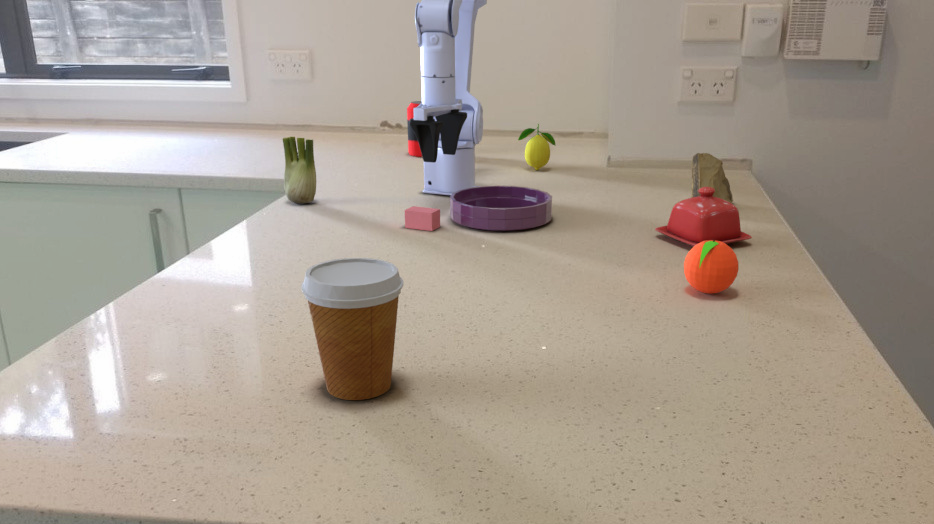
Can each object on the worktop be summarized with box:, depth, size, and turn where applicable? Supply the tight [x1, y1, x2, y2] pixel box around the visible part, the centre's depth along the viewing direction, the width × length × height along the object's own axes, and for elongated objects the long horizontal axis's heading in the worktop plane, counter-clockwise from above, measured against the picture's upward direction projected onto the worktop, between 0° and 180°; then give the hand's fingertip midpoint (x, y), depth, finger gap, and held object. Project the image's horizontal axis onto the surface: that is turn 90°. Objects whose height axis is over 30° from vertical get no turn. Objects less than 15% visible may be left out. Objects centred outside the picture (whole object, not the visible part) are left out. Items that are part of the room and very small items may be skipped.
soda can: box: [406, 100, 423, 158], centre depth 197 cm, size 8×8×12 cm
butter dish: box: [654, 187, 753, 248], centre depth 131 cm, size 12×12×8 cm
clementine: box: [683, 239, 740, 295], centre depth 108 cm, size 8×7×7 cm
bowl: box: [449, 185, 553, 232], centre depth 143 cm, size 17×17×4 cm
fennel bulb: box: [282, 136, 317, 205], centre depth 151 cm, size 6×5×12 cm
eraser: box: [404, 205, 441, 232], centre depth 138 cm, size 5×3×3 cm, turn 68°
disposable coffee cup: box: [300, 257, 404, 401], centre depth 81 cm, size 10×10×12 cm
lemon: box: [517, 123, 556, 171], centre depth 181 cm, size 7×6×10 cm
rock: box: [690, 152, 734, 204], centre depth 152 cm, size 11×9×10 cm
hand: (439, 158), depth 145 cm, fingers open, 7 cm apart
